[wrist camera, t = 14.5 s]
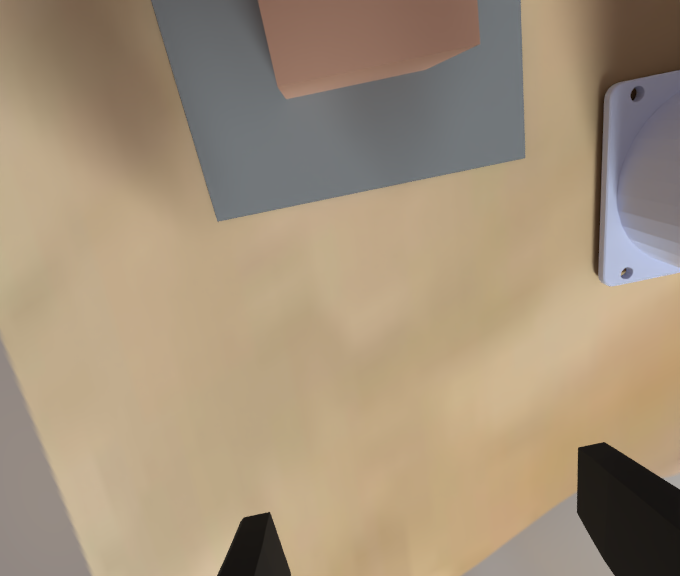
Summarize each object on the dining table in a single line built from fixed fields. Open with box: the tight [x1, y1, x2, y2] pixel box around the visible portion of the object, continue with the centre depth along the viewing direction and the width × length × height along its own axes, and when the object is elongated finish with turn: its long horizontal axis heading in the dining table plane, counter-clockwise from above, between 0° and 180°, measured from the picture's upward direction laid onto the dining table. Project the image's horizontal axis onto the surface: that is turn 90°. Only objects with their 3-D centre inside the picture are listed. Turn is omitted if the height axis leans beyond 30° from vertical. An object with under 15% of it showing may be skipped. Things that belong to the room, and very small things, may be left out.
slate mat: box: [151, 0, 525, 221], centre depth 14 cm, size 12×12×1 cm
